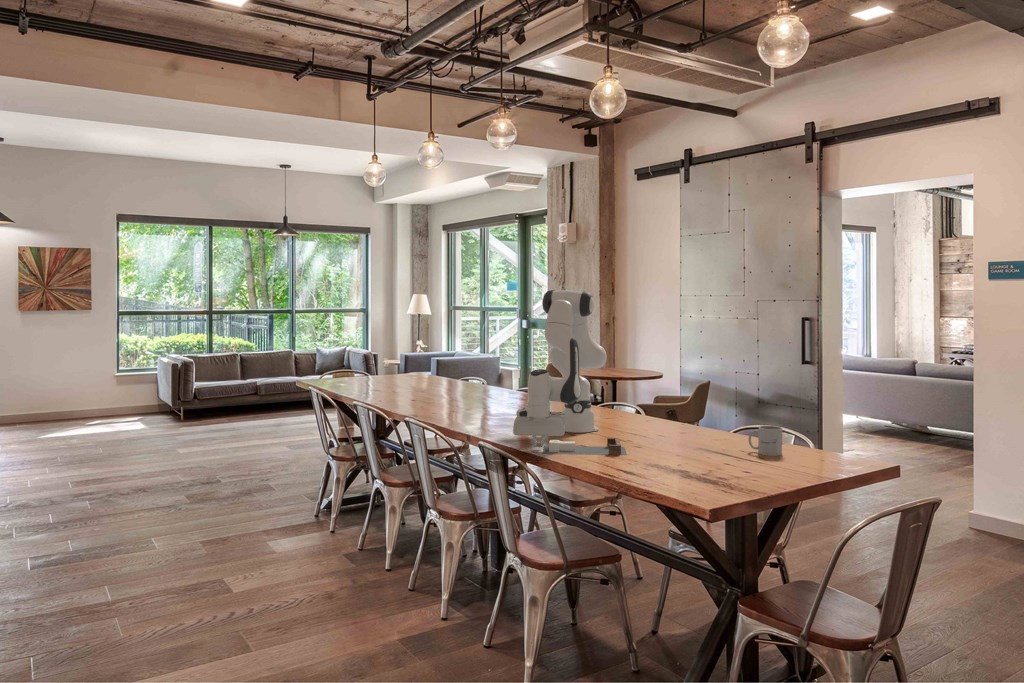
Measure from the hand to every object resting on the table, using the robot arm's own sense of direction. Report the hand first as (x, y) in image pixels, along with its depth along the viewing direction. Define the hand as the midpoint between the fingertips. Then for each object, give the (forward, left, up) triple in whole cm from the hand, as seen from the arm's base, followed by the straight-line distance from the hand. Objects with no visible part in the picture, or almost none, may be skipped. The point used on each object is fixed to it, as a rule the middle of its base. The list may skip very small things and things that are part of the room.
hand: (538, 446), depth 293 cm
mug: (-3, +87, -2) cm, 87 cm away
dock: (0, +29, -1) cm, 29 cm away
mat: (0, +18, -2) cm, 18 cm away
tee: (0, +9, -1) cm, 9 cm away
